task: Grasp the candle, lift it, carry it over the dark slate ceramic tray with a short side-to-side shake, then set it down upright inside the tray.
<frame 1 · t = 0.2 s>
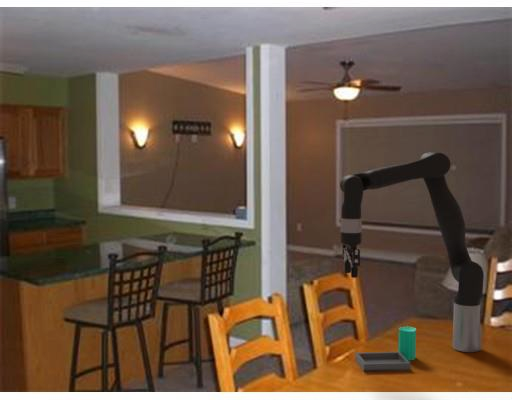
hand: (350, 275, 226), 29 cm above the table, fingers open, 8 cm apart
tray: (382, 364, 215), on the table
candle: (406, 358, 223), on the table
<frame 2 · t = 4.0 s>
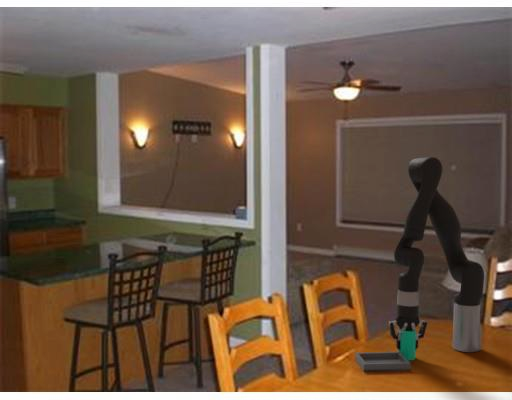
hand: (406, 349, 222), 3 cm above the table, fingers closed on candle, 4 cm apart
candle: (406, 358, 223), on the table, touching gripper
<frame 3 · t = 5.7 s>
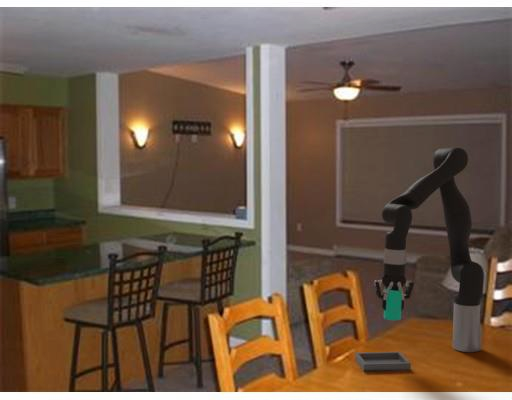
hand: (392, 309, 217), 18 cm above the table, fingers closed on candle, 4 cm apart
candle: (392, 318, 217), point 15 cm above the table, touching gripper
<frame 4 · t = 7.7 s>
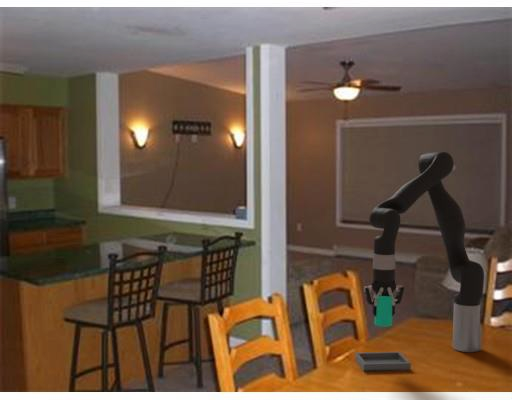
hand: (383, 315, 213), 17 cm above the table, fingers closed on candle, 4 cm apart
candle: (383, 324, 214), point 14 cm above the table, touching gripper
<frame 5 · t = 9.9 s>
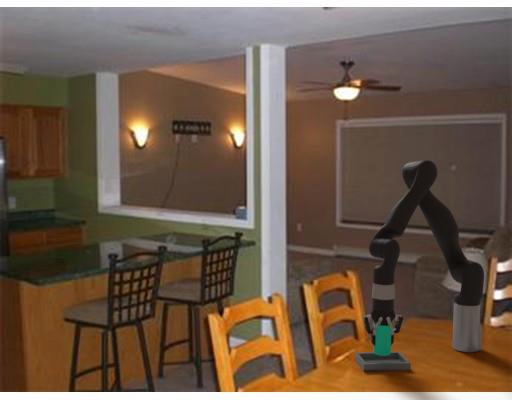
hand: (382, 344, 214), 7 cm above the table, fingers closed on candle, 4 cm apart
candle: (382, 353, 215), point 4 cm above the table, touching gripper
when the fingers open (4 cm above the table, at t = 11.7 s): candle stays where it is, resting on tray.
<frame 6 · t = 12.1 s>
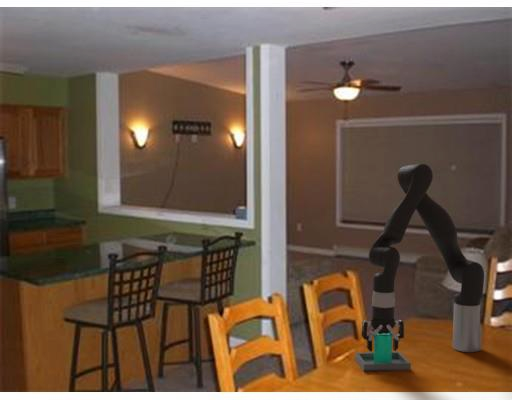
hand: (382, 350, 214), 5 cm above the table, fingers open, 8 cm apart
candle: (382, 363, 215), resting on tray
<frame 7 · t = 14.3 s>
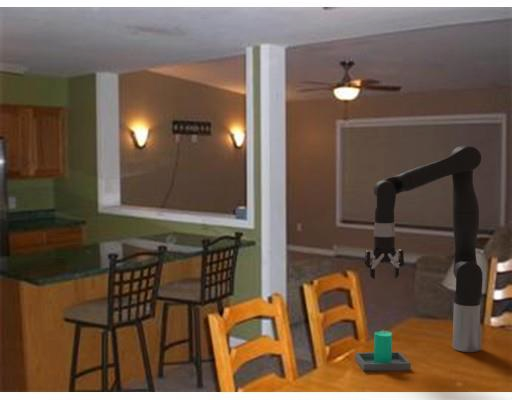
hand: (384, 278, 231), 26 cm above the table, fingers open, 8 cm apart
nothing on the table moved.
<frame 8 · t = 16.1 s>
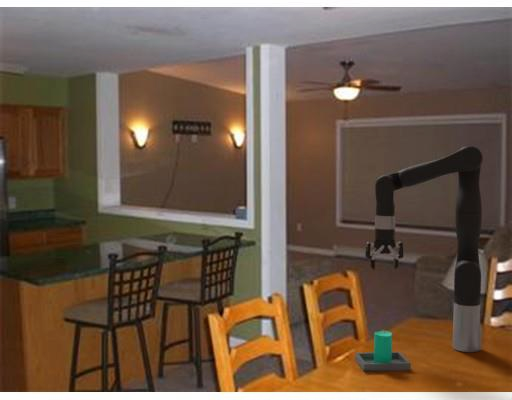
hand: (384, 269, 240), 28 cm above the table, fingers open, 8 cm apart
nothing on the table moved.
at the end: candle inside the target area on the tray (0.2 cm from its centre), point 0.4 cm above the tray's base; candle tilted 0°; the gripper is holding nothing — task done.
